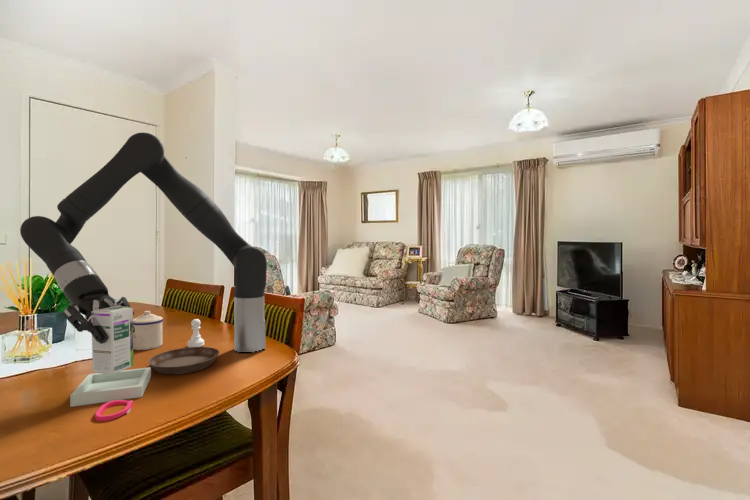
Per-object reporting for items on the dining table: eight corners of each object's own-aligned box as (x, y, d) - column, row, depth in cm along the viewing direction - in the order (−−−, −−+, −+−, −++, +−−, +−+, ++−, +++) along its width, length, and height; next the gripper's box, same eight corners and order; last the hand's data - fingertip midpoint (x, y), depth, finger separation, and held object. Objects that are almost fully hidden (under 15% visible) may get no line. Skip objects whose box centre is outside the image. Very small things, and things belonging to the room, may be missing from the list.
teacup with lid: (166, 341, 127) (165, 308, 127) (159, 349, 119) (159, 313, 118) (125, 344, 123) (124, 309, 123) (116, 352, 115) (115, 315, 114)
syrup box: (112, 375, 84) (112, 311, 83) (91, 372, 85) (90, 309, 84) (134, 366, 89) (134, 306, 89) (113, 364, 90) (113, 305, 90)
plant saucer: (132, 372, 99) (132, 361, 99) (187, 353, 116) (186, 343, 116) (183, 382, 93) (182, 370, 93) (232, 360, 110) (232, 350, 110)
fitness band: (125, 420, 74) (125, 412, 74) (90, 425, 72) (90, 417, 72) (135, 402, 82) (135, 396, 82) (104, 406, 80) (104, 400, 79)
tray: (150, 376, 96) (150, 367, 96) (142, 396, 84) (141, 386, 84) (89, 384, 90) (89, 374, 90) (70, 406, 79) (70, 395, 78)
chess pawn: (184, 346, 123) (184, 319, 122) (200, 342, 126) (200, 316, 126) (191, 349, 119) (191, 321, 119) (207, 345, 123) (206, 319, 123)
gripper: (55, 276, 81) (96, 334, 78) (117, 270, 95) (154, 320, 92) (39, 298, 83) (78, 356, 80) (102, 290, 97) (137, 339, 94)
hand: (118, 337), depth 86 cm, fingers closed on syrup box, 6 cm apart
